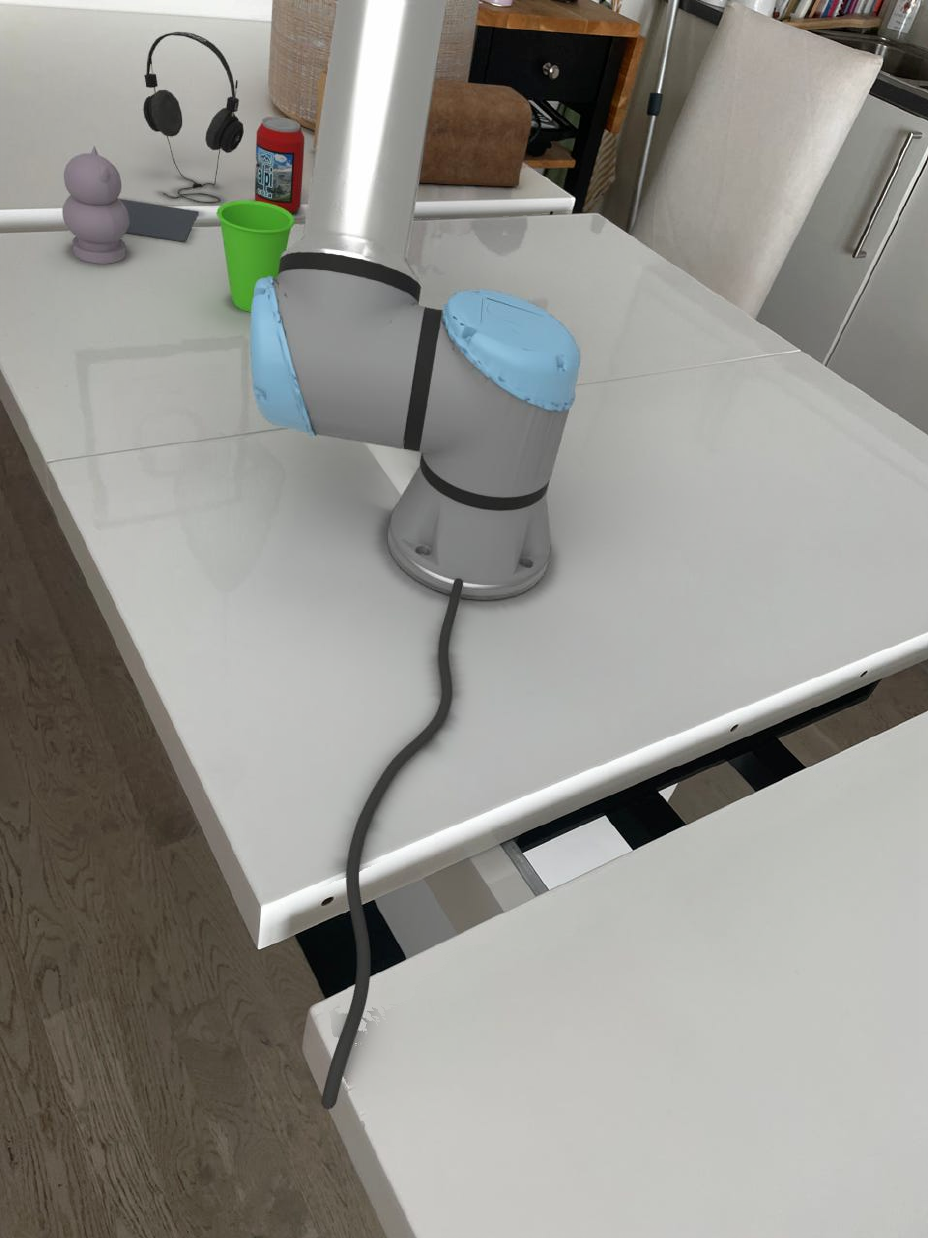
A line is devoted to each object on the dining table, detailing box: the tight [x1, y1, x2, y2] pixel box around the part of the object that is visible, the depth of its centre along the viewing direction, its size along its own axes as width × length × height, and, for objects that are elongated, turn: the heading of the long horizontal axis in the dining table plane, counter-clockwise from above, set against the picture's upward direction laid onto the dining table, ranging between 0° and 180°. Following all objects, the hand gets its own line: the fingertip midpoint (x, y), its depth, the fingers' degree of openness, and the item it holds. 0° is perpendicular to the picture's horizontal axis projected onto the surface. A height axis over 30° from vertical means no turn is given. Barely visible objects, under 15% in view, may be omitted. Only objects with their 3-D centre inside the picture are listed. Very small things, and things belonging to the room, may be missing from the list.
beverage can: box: [254, 116, 305, 214], centre depth 143 cm, size 7×7×12 cm
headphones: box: [142, 31, 245, 204], centre depth 141 cm, size 15×11×20 cm
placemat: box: [118, 198, 200, 243], centre depth 136 cm, size 11×11×1 cm
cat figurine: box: [61, 145, 129, 265], centre depth 122 cm, size 8×8×12 cm
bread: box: [313, 71, 533, 187], centre depth 166 cm, size 14×34×14 cm, turn 111°
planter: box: [267, 0, 480, 132], centre depth 177 cm, size 37×37×32 cm
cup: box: [216, 200, 296, 313], centre depth 119 cm, size 9×9×11 cm
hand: (333, 155), depth 122 cm, fingers closed
